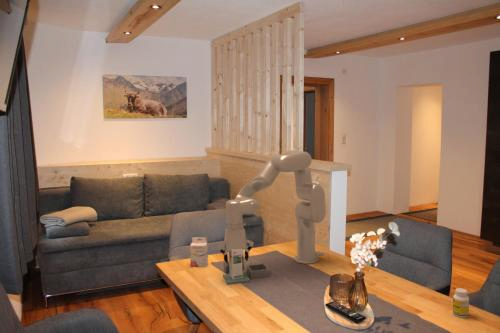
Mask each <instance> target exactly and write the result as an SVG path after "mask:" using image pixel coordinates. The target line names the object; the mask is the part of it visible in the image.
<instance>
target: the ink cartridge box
mask: <svg viewBox="0 0 500 333" xmlns="http://www.w3.org/2000/svg"><path fill="white" fill-rule="evenodd" d="M207 239H208V238H207V237H201V236H199V237H198V236H195V237H194V236H193V237H191V243H190V245H189V249H190V250H189V254H190V255H189V257H190V258H189V259H190V268H193V267H194V268H195V267H196V268H197V267H198V268H206V267H207V266H208V265H209V251H208V240H207Z"/></svg>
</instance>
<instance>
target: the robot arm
mask: <svg viewBox="0 0 500 333" xmlns="http://www.w3.org/2000/svg"><path fill="white" fill-rule="evenodd" d="M311 164H312V156H311V154H310V153H309V152H307V151H303V150H286V151H285V152H284V153H283V154H280V153H279V154H278V153H275V154H271V155H270V156H269V157H268V158H267V159H266V161H265V163H264V164H263V165H262V167H261V169H260V170H259V172H258V173H257V175H256V176H255V177H254V178H252V179H251V180H250V181H248V182H247V183H246V184H245V185H244V186H242V187H241V189H239V192H238V193H237V194H236V196H235V198H234V199H229V200H227V201H226V202H225V213H226V216H225V218H226V228H224V240H223V242H222V243H219V244H218V245H217V248H218V250H219V252H220V253H221V254H223V261H224V262H226V263H228V258H229V251H231V250H232V249H242V248H243V251H244V261H249V260H248V259H250V256H249V254H250V251H251V250H252V248H253V246H254V244H255V243H254V242H253V241H252V240H249V239H247V236H246V235H247V234H246V229H245V228H244V226H247V224H246V222H243V215H253V214H256V213H257V212H258V211H259V208H260V204H259V202H258V200H257V199H254V198H252V197H253V196H254V195H255V194H256V193H258V192H261V191H263V190H266V189H268V188H270V187H271V186H272V185H273V184H274V182H275V180H276V179H277V178H278V175H279V174H280V173H291V172H292V173H293V175H294V180H295V183H294V184H295V192H296V196H297V198H299V199H300V200H302V201H300V202H299V201H298V203H297V204H296V206H295V208H294V215H295V220H296V236H297V237H296V239H297V240H296V241H297V246H296V248H297V250H296V251H297V254H296V256H294V261H295V262H296V263H299V264H305V265H309V264H314V263H315V264H316V263H318V261H319V257H324V256H325V252H324V251H321V252H320V251H317V250H316V225H315V224H319V223H322V222H323V221H324V220H325V217H326V213H327V209H326V194H325V193H326V192H325V189H324V187H323V186H322V185H321V184H320V183H316V182H313V178H312V173H311V169H310V166H311ZM248 244H249V245H248ZM223 247H224V249H223Z"/></svg>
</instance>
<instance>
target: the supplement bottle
mask: <svg viewBox="0 0 500 333" xmlns="http://www.w3.org/2000/svg"><path fill="white" fill-rule="evenodd" d="M454 293H455V294H454V295H453V296H452V314H453V315H454V317H457V318H461V319H464V318H465V319H466V318H468V317H469V315H470V312H469V310H470V297H469V296H468V290H467V289H465V288H461V287H459V288H458V287H457V288H455V290H454Z"/></svg>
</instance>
